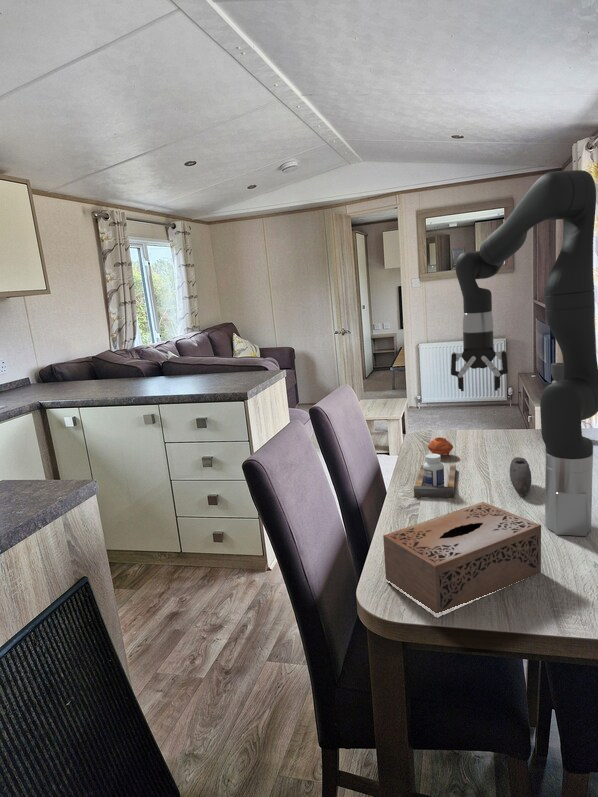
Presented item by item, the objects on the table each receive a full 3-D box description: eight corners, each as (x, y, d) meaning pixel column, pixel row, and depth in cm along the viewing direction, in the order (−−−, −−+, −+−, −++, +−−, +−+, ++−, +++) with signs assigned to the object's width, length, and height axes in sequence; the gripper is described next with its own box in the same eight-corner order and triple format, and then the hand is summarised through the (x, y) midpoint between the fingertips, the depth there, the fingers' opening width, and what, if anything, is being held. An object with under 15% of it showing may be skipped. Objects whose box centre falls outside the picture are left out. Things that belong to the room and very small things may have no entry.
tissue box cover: (437, 620, 94) (434, 566, 92) (386, 583, 106) (383, 535, 104) (540, 573, 105) (541, 525, 103) (483, 545, 118) (482, 501, 116)
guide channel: (453, 498, 143) (453, 489, 142) (414, 497, 146) (413, 488, 145) (455, 470, 163) (455, 462, 163) (421, 469, 166) (420, 461, 166)
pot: (421, 457, 177) (423, 436, 177) (436, 456, 182) (437, 436, 182) (442, 460, 171) (444, 439, 171) (457, 460, 176) (458, 439, 176)
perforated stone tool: (533, 501, 137) (533, 475, 136) (511, 500, 139) (510, 474, 138) (529, 480, 151) (529, 456, 150) (509, 479, 153) (509, 455, 151)
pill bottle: (442, 485, 152) (441, 452, 150) (446, 493, 147) (444, 458, 145) (423, 486, 153) (421, 453, 151) (425, 493, 148) (424, 459, 146)
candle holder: (550, 439, 185) (551, 365, 180) (548, 434, 191) (548, 362, 186) (571, 439, 183) (572, 365, 178) (568, 434, 189) (569, 362, 184)
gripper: (449, 332, 142) (451, 394, 145) (507, 329, 138) (508, 392, 141) (450, 329, 149) (452, 388, 152) (506, 326, 145) (506, 387, 148)
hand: (479, 390), depth 147 cm, fingers open, 8 cm apart
